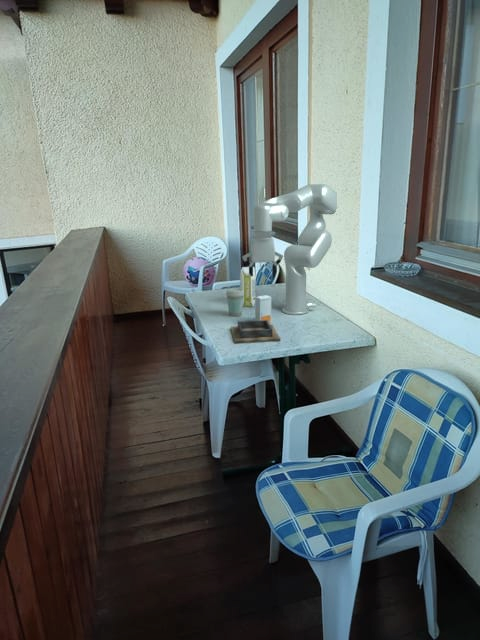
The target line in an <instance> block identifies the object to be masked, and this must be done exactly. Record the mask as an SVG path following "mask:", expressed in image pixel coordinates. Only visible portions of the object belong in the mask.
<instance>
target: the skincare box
mask: <svg viewBox="0 0 480 640" xmlns="http://www.w3.org/2000/svg"><path fill="white" fill-rule="evenodd" d="M254 311H255V312H254V313H255V315H254V317H255V318H254V319H255V320H254V321H258V320H267V321H268V322H269V324H272V296H270V295H267V294H265V295H259V296H256V297H255V304H254Z"/></svg>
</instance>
